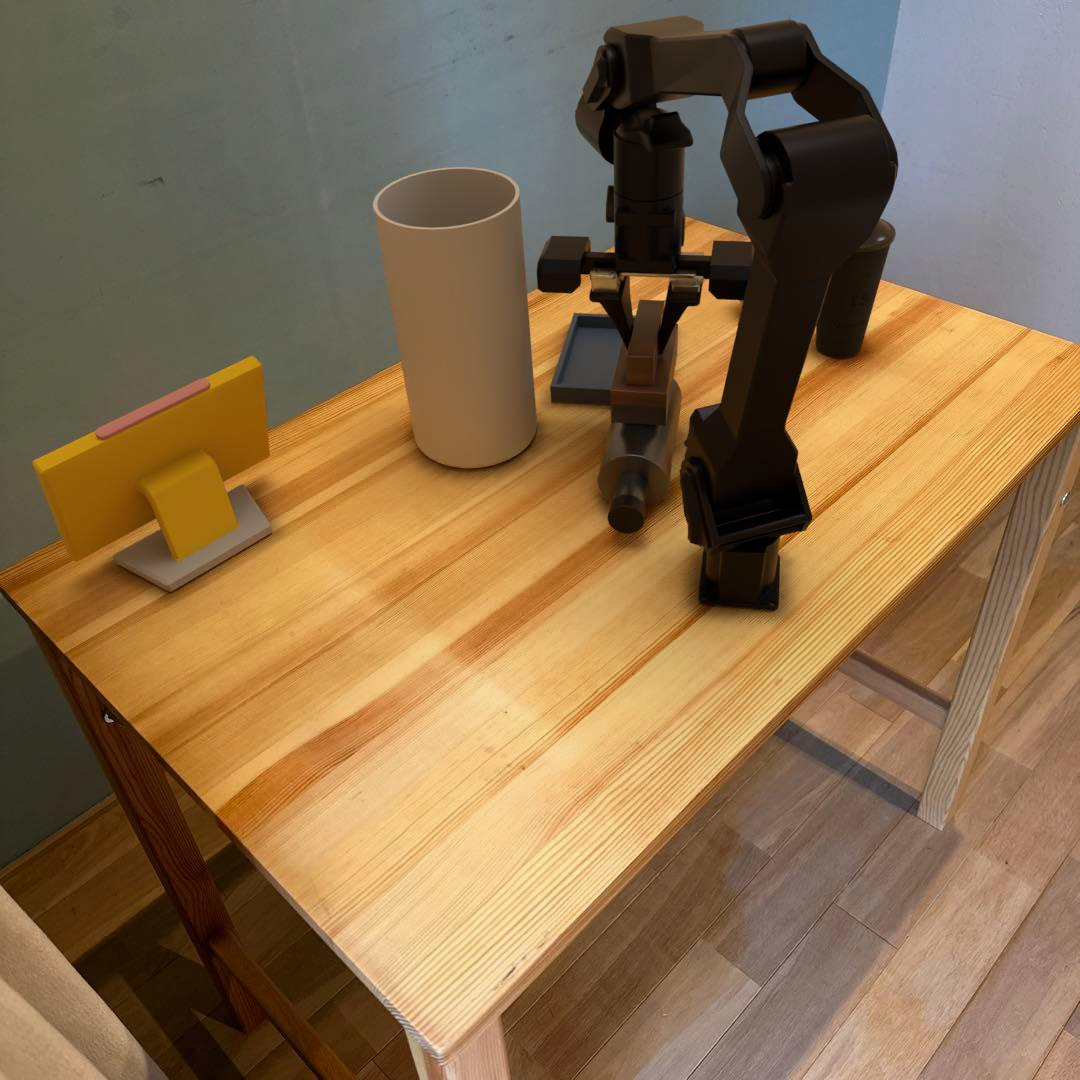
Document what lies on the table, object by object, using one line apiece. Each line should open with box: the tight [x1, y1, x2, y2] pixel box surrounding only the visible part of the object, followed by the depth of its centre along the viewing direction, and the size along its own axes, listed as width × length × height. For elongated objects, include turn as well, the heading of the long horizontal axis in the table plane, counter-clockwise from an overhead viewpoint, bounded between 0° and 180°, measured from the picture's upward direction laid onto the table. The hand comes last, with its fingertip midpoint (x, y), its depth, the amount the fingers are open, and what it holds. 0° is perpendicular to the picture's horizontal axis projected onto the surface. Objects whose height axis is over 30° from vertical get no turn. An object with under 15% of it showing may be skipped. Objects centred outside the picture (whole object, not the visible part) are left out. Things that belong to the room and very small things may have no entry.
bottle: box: [596, 378, 683, 535], centre depth 93 cm, size 6×19×6 cm, turn 169°
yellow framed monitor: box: [31, 355, 273, 593], centre depth 87 cm, size 20×8×16 cm, turn 134°
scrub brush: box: [610, 299, 679, 426], centre depth 93 cm, size 12×5×6 cm, turn 169°
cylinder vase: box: [372, 166, 538, 469], centre depth 94 cm, size 12×12×25 cm
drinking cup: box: [815, 217, 897, 360], centre depth 103 cm, size 8×8×20 cm
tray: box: [549, 312, 636, 407], centre depth 109 cm, size 15×11×2 cm
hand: (646, 351), depth 93 cm, fingers closed on scrub brush, 2 cm apart
